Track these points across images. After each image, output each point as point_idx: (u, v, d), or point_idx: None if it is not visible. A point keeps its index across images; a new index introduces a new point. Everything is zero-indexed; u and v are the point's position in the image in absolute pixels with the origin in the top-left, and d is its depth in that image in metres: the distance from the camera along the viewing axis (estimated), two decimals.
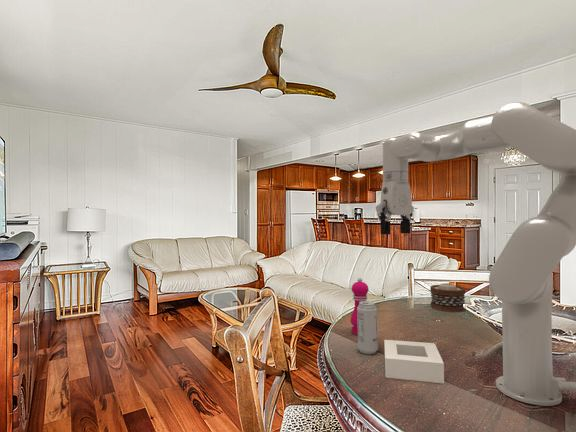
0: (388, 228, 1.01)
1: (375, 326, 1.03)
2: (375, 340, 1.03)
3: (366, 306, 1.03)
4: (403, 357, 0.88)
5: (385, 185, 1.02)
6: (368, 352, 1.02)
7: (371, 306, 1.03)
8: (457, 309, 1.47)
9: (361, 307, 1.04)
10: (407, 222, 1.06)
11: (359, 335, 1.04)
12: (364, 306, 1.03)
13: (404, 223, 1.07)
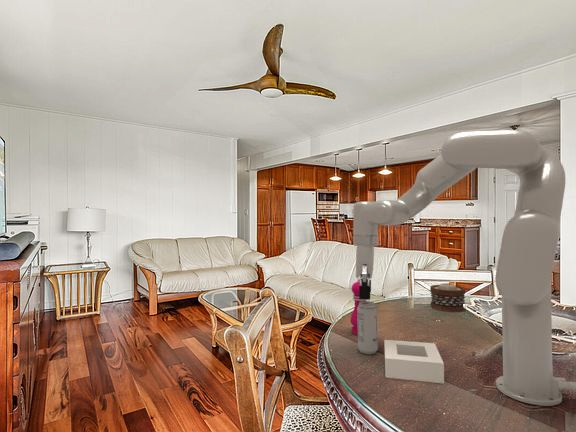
0: None
1: (375, 326, 1.03)
2: (375, 340, 1.03)
3: (366, 306, 1.03)
4: (403, 357, 0.88)
5: None
6: (368, 352, 1.02)
7: (371, 306, 1.03)
8: (457, 309, 1.47)
9: (361, 307, 1.04)
10: None
11: (359, 335, 1.04)
12: (364, 306, 1.03)
13: None
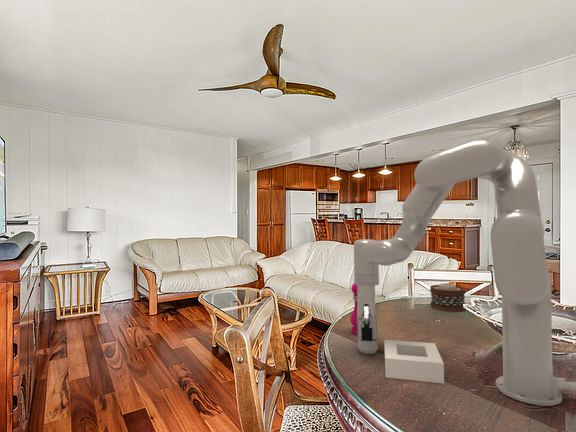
0: None
1: (375, 326, 1.03)
2: (375, 340, 1.03)
3: None
4: (403, 357, 0.88)
5: None
6: (368, 352, 1.02)
7: None
8: (457, 309, 1.47)
9: None
10: None
11: (359, 335, 1.04)
12: None
13: None
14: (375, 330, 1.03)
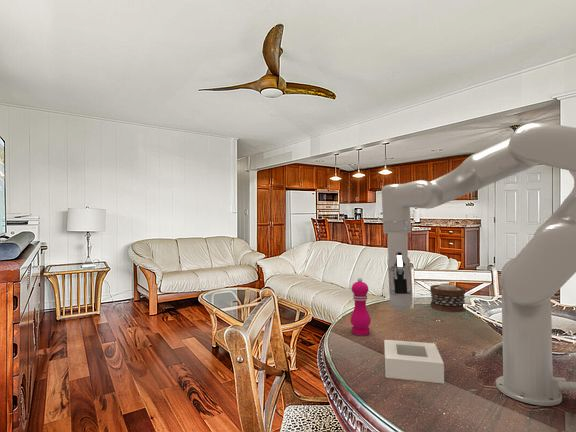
0: None
1: (409, 278, 0.93)
2: (409, 293, 0.93)
3: None
4: (403, 357, 0.88)
5: None
6: (402, 306, 0.93)
7: None
8: (457, 309, 1.47)
9: None
10: None
11: (391, 289, 0.94)
12: (396, 256, 0.94)
13: None
14: (409, 282, 0.93)
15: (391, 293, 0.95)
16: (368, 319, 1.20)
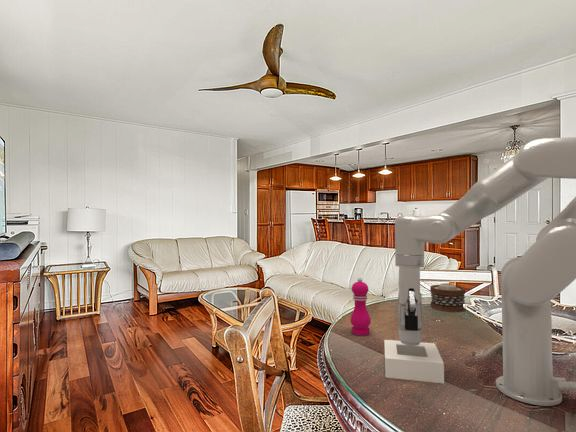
0: None
1: (420, 314, 0.90)
2: (420, 330, 0.90)
3: None
4: (403, 357, 0.88)
5: None
6: (412, 343, 0.90)
7: None
8: (457, 309, 1.47)
9: None
10: None
11: (401, 324, 0.91)
12: None
13: None
14: (420, 318, 0.90)
15: (401, 328, 0.92)
16: (368, 319, 1.20)
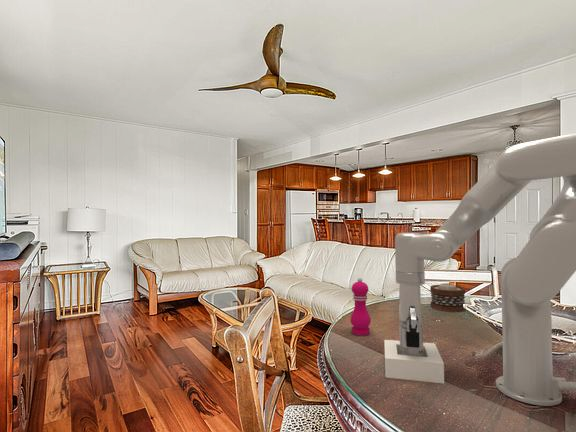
0: None
1: (421, 336, 0.90)
2: (421, 352, 0.90)
3: None
4: (403, 357, 0.88)
5: None
6: None
7: None
8: (457, 309, 1.47)
9: None
10: None
11: (402, 346, 0.91)
12: None
13: None
14: (421, 341, 0.90)
15: (402, 351, 0.91)
16: (368, 319, 1.20)
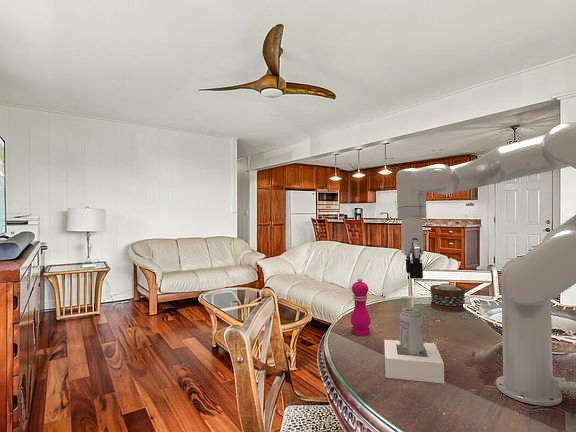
0: None
1: (421, 336, 0.90)
2: (422, 352, 0.90)
3: (411, 314, 0.90)
4: (403, 357, 0.88)
5: None
6: None
7: (417, 314, 0.90)
8: (457, 309, 1.47)
9: (405, 315, 0.91)
10: None
11: (403, 347, 0.91)
12: (409, 314, 0.90)
13: None
14: (422, 341, 0.90)
15: (402, 351, 0.91)
16: (368, 319, 1.20)
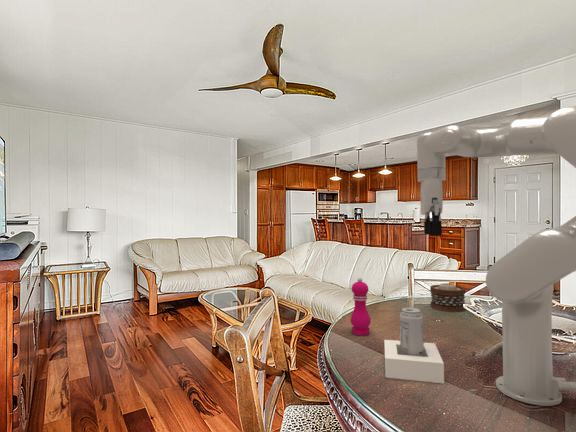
0: None
1: (422, 336, 0.90)
2: (422, 352, 0.90)
3: (411, 314, 0.90)
4: (403, 357, 0.88)
5: None
6: None
7: (417, 314, 0.90)
8: (457, 309, 1.47)
9: (405, 315, 0.91)
10: None
11: (403, 347, 0.91)
12: (409, 314, 0.90)
13: None
14: (422, 341, 0.90)
15: (402, 351, 0.91)
16: (368, 319, 1.20)
